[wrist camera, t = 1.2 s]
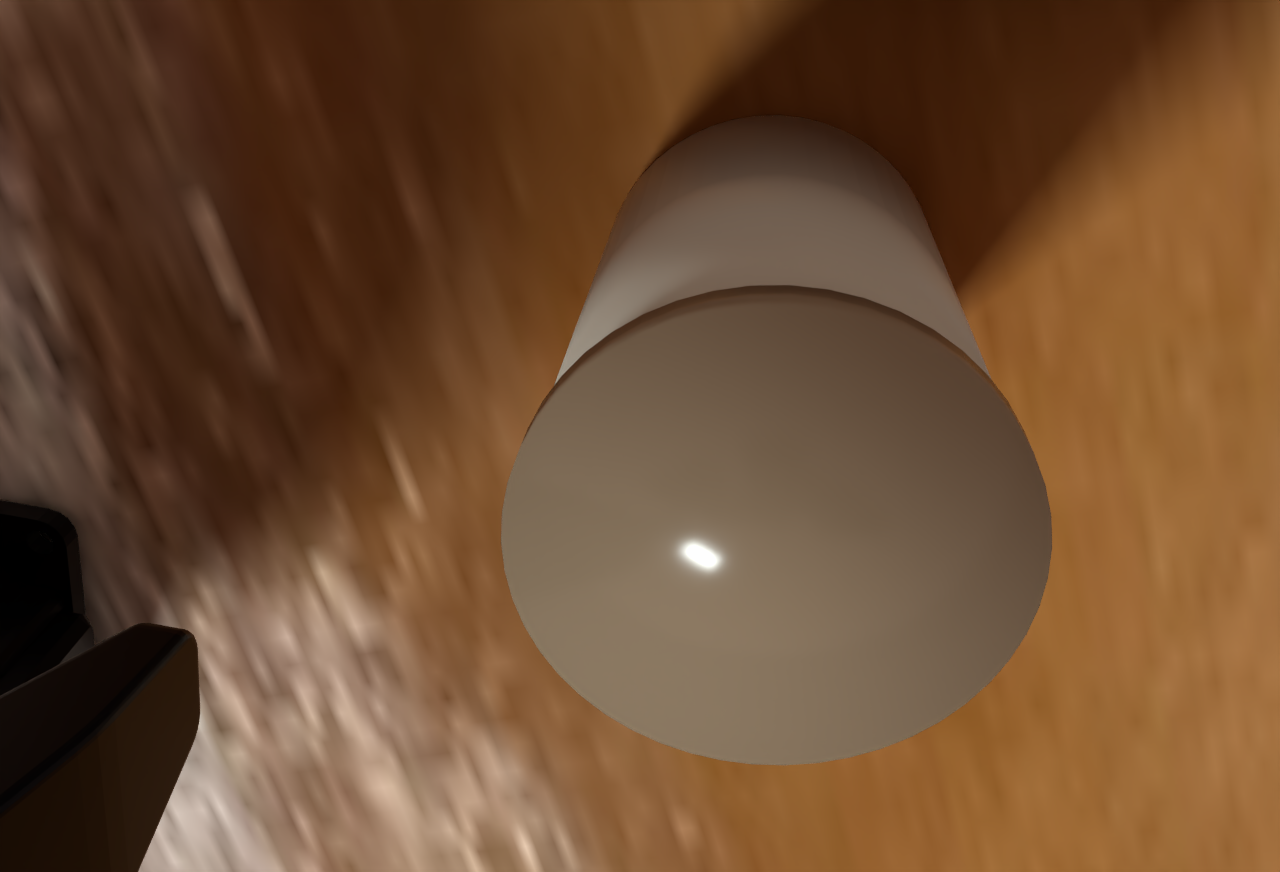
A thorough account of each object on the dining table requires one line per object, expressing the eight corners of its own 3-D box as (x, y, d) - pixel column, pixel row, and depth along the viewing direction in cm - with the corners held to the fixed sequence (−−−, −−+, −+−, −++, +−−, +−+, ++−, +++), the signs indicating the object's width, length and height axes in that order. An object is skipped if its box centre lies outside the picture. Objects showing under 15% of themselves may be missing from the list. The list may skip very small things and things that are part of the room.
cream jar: (580, 399, 20) (479, 717, 13) (624, 80, 17) (529, 257, 10) (891, 454, 20) (962, 803, 13) (982, 141, 17) (1133, 362, 10)
